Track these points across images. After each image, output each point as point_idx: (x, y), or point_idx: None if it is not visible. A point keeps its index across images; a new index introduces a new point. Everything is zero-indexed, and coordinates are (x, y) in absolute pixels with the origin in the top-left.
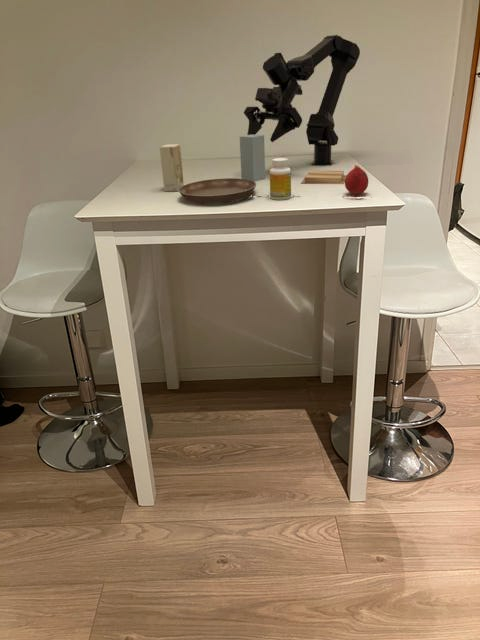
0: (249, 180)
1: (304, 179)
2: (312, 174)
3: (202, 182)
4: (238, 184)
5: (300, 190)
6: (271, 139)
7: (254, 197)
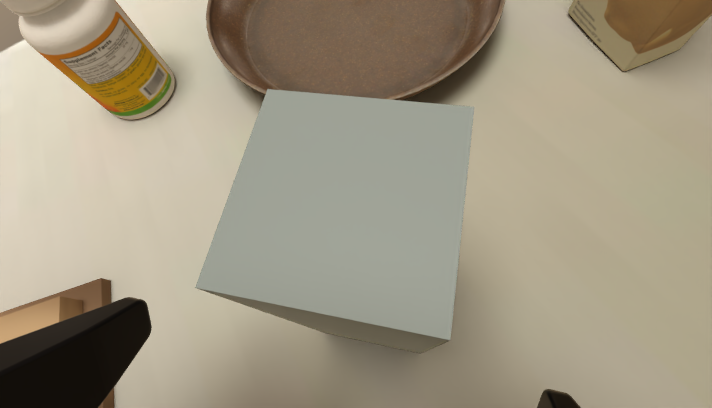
0: None
1: None
2: None
3: (486, 31)
4: None
5: (96, 210)
6: (124, 299)
7: None
